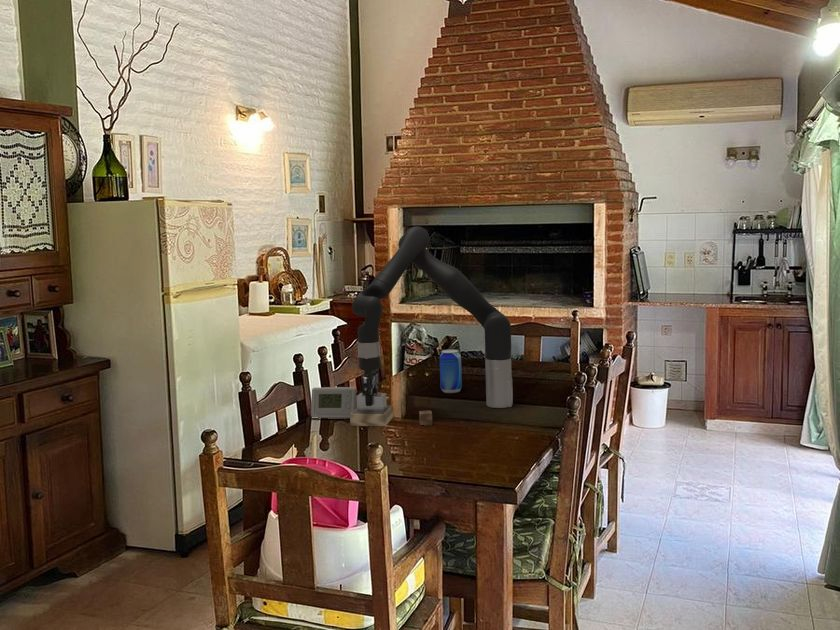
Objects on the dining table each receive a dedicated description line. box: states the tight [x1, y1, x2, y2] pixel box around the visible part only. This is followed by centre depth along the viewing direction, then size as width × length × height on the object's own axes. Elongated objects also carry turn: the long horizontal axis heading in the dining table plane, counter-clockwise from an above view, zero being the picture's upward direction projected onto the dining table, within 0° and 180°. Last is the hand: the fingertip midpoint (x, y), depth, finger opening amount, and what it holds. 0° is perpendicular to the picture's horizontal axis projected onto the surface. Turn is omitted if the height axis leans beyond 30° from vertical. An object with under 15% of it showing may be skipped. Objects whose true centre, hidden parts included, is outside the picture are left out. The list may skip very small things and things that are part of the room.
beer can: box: [439, 349, 463, 394], centre depth 305 cm, size 8×8×16 cm
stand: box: [349, 404, 394, 427], centre depth 265 cm, size 12×12×4 cm
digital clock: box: [310, 386, 357, 420], centre depth 271 cm, size 16×9×11 cm, turn 71°
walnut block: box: [418, 410, 433, 426], centre depth 259 cm, size 4×4×4 cm
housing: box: [356, 391, 387, 411], centre depth 264 cm, size 5×9×6 cm, turn 76°
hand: (371, 403), depth 264 cm, fingers open, 6 cm apart
